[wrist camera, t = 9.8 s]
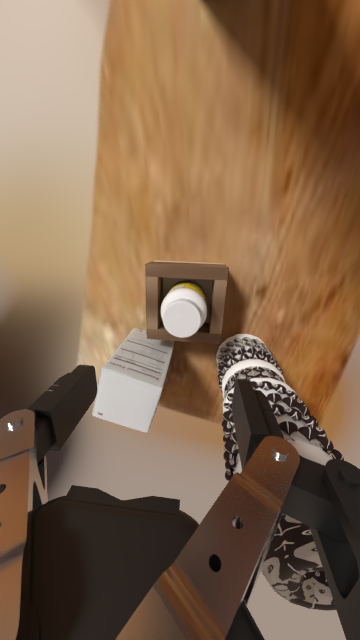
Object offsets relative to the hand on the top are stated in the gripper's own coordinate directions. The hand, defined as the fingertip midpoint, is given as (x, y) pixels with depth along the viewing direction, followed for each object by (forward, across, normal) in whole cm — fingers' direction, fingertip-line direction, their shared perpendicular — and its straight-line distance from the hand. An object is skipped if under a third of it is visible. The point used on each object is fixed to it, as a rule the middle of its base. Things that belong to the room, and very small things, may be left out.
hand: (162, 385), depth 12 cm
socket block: (+22, 0, 0) cm, 22 cm away
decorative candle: (+22, -9, +10) cm, 26 cm away
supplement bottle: (+20, 0, 0) cm, 20 cm away
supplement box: (+22, +6, +10) cm, 25 cm away
